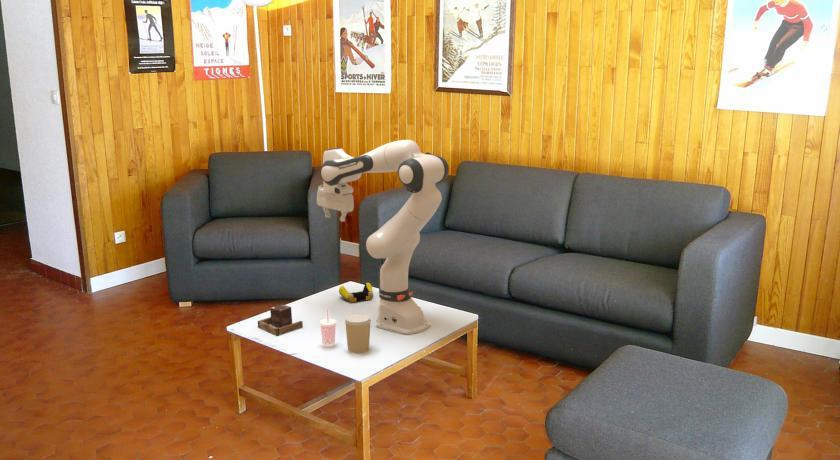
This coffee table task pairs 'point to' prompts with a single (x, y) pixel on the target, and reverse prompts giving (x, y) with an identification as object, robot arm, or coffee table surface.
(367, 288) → the gaming controller
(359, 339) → the coffee cup
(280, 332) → the frame
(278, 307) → the box
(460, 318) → the coffee table surface
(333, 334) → the beverage cup
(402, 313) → the robot arm
